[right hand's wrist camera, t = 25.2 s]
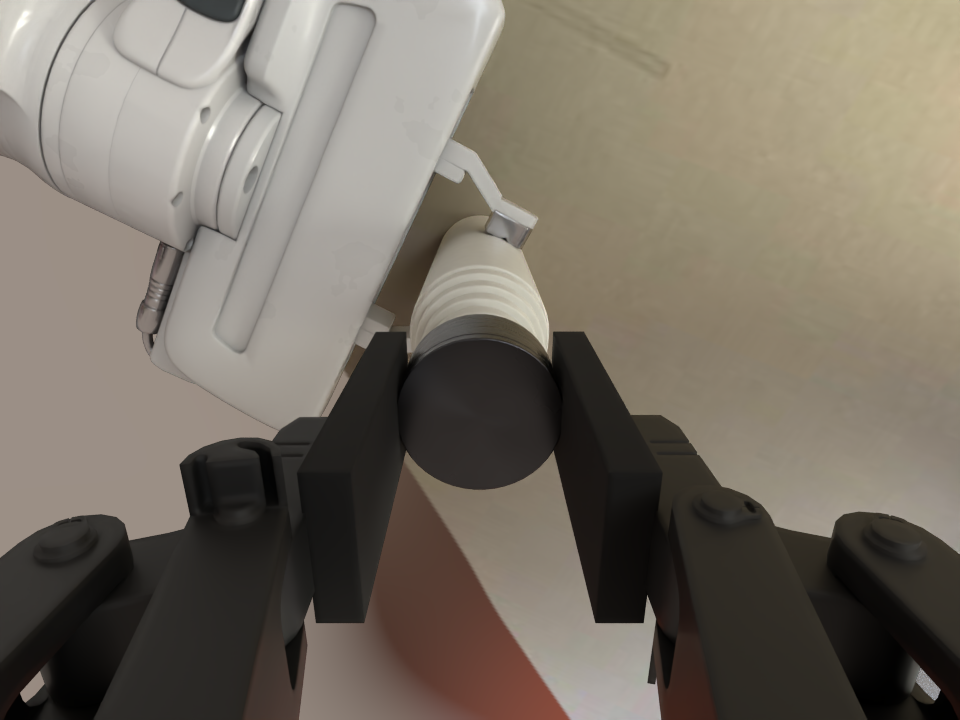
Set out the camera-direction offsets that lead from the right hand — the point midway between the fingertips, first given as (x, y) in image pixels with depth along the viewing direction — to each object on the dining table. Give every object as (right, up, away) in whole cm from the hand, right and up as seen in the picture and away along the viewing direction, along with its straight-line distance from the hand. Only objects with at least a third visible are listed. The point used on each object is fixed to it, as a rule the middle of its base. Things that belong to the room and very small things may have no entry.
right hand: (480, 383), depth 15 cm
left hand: (+1, +4, +11) cm, 11 cm away
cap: (0, -1, -2) cm, 2 cm away
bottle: (0, +6, +17) cm, 18 cm away
